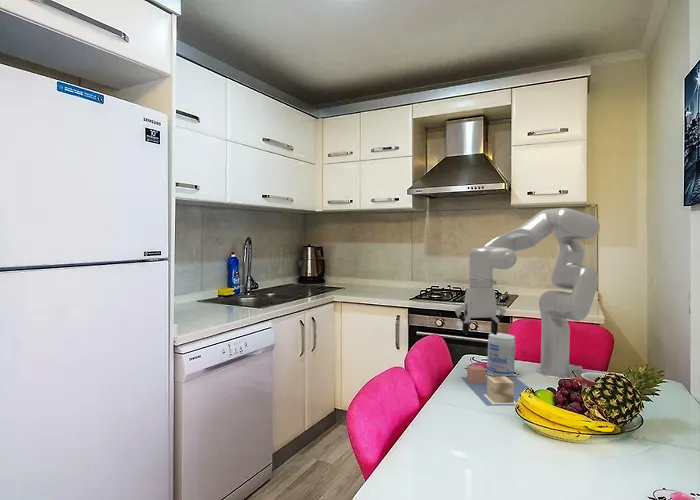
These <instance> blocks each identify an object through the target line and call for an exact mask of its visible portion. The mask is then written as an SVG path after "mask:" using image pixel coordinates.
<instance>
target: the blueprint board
mask: <svg viewBox="0 0 700 500" xmlns="http://www.w3.org/2000/svg"><path fill="white" fill-rule="evenodd" d="M487 377H488V376H486V384H471V383H470V382H469V381H468V380H467V376H460V378H461V379H462V381H463V382H464V383H466V385H467V386H468V387H469V388H470V389H471V391H473V392H474V394H475V395H476V396H477V398H479V400H481V401H482V403H484V404H485V406H487V407H490V406H491V407H493V406H495V407H497V406H498V407H500V406H501V407H502V406H503V407H504V406H505V407H506V406H511V407H513V406H514V407H516V406H515V404H516V402H517V401H518V399H519V394H520V393H521V392H523V391H524V390H525V389H526V388H530V387H529V386H528V385H526V384H525V383H524V382H522V381H521V380H520V379H519V378H517V377H516V376H506V377H507V378H508V379H510V380H511V381H512V382H513V383H514V403H494V402H493V401H492V400H491V399H490V398H489V397H488V396H487Z"/></svg>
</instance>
